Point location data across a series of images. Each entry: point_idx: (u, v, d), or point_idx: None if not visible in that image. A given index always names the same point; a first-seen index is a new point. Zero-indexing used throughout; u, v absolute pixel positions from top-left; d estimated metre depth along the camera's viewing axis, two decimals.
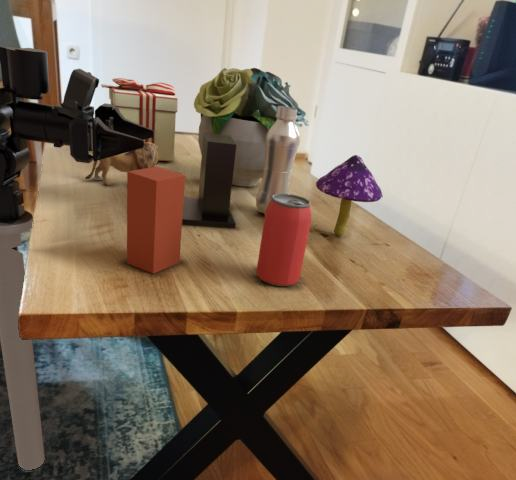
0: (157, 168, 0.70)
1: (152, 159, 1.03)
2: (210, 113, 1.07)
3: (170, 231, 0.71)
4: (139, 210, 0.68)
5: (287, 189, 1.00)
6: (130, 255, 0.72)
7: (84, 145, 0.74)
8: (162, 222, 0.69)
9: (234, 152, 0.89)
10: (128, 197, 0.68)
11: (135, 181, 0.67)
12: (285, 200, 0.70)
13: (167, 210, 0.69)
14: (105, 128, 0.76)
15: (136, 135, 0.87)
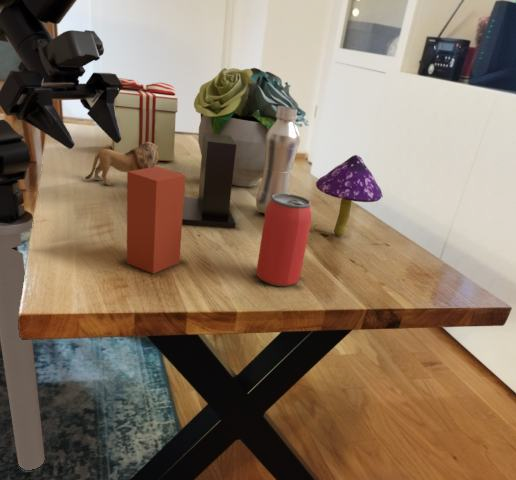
0: (157, 168, 0.70)
1: (152, 159, 1.03)
2: (210, 113, 1.07)
3: (170, 231, 0.71)
4: (139, 210, 0.68)
5: (287, 189, 1.00)
6: (130, 255, 0.72)
7: (9, 100, 0.66)
8: (162, 222, 0.69)
9: (234, 152, 0.89)
10: (128, 197, 0.68)
11: (135, 181, 0.67)
12: (285, 200, 0.70)
13: (167, 210, 0.69)
14: (46, 103, 0.68)
15: (106, 127, 0.78)
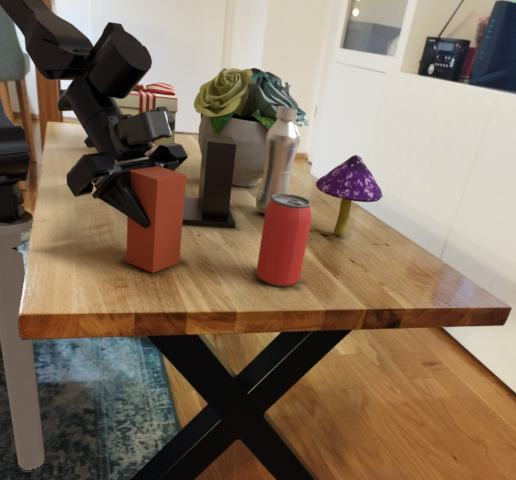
0: (158, 168, 0.70)
1: None
2: (210, 113, 1.07)
3: (170, 231, 0.71)
4: None
5: (287, 189, 1.00)
6: (130, 254, 0.72)
7: (79, 183, 0.63)
8: (162, 221, 0.69)
9: (234, 152, 0.89)
10: None
11: (136, 180, 0.67)
12: (285, 200, 0.70)
13: (167, 209, 0.69)
14: (125, 185, 0.66)
15: None
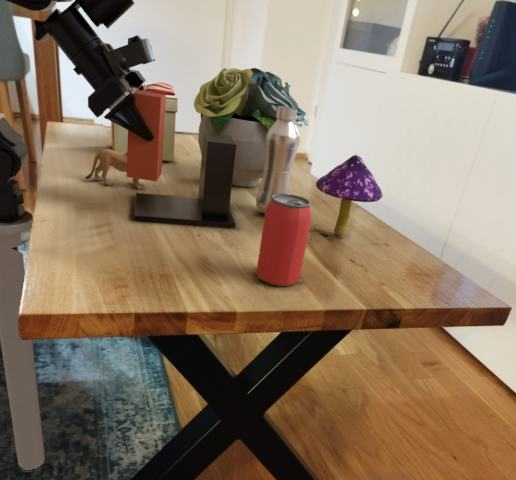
0: (140, 90, 0.83)
1: None
2: (210, 113, 1.07)
3: (161, 144, 0.86)
4: None
5: (287, 189, 1.00)
6: (131, 169, 0.85)
7: (106, 104, 0.74)
8: (160, 135, 0.83)
9: (234, 152, 0.89)
10: None
11: (137, 99, 0.79)
12: (285, 200, 0.70)
13: (161, 124, 0.83)
14: (134, 104, 0.78)
15: None
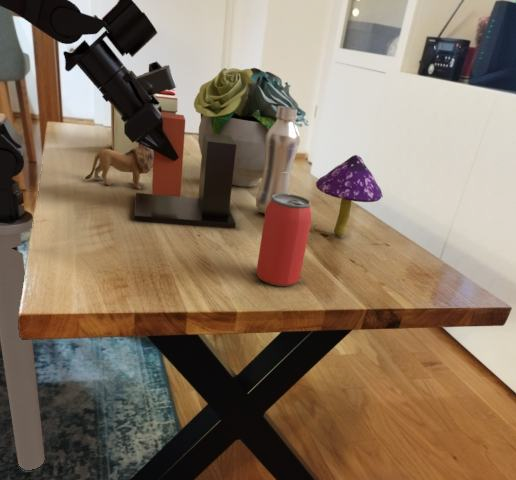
0: (160, 112, 0.89)
1: (152, 159, 1.04)
2: (210, 113, 1.07)
3: None
4: None
5: (287, 189, 1.00)
6: (156, 186, 0.90)
7: (142, 130, 0.79)
8: None
9: (234, 152, 0.89)
10: None
11: (163, 122, 0.85)
12: (285, 200, 0.70)
13: None
14: (162, 127, 0.84)
15: None
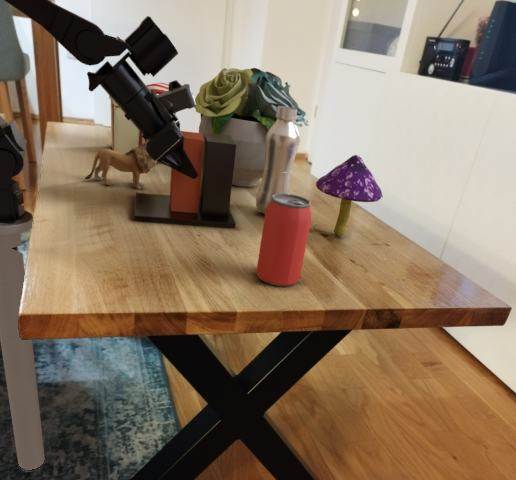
0: None
1: (152, 159, 1.04)
2: (210, 113, 1.07)
3: None
4: None
5: (287, 189, 1.00)
6: (175, 204, 0.92)
7: (164, 148, 0.81)
8: None
9: (234, 152, 0.89)
10: None
11: None
12: (285, 200, 0.70)
13: None
14: None
15: None
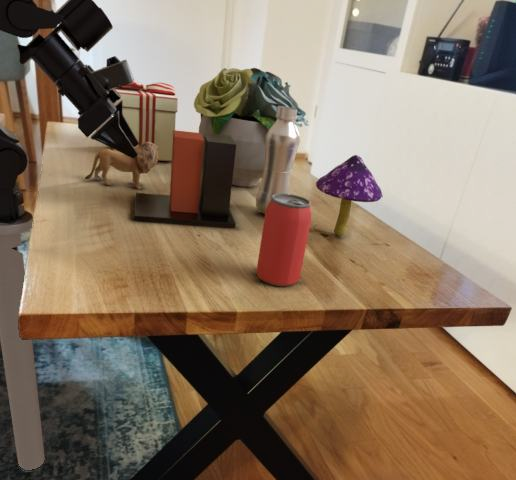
0: (178, 131, 0.91)
1: (152, 159, 1.04)
2: (210, 113, 1.07)
3: None
4: (186, 165, 0.89)
5: (287, 189, 1.00)
6: (175, 204, 0.92)
7: (96, 124, 0.78)
8: None
9: (234, 152, 0.89)
10: (175, 157, 0.88)
11: (182, 143, 0.87)
12: (285, 200, 0.70)
13: None
14: (118, 124, 0.82)
15: None
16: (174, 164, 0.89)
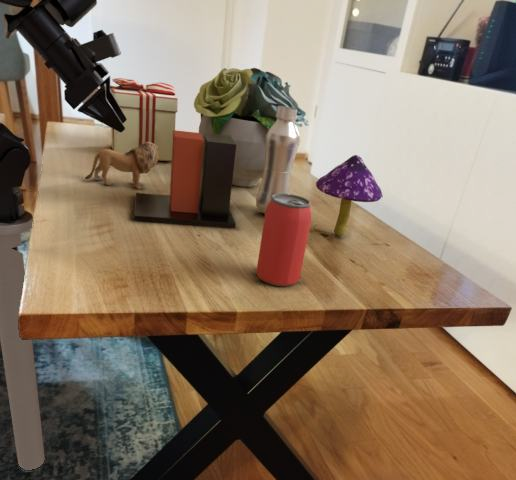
0: (178, 131, 0.91)
1: (152, 159, 1.04)
2: (210, 113, 1.07)
3: None
4: (186, 165, 0.89)
5: (287, 189, 1.00)
6: (175, 204, 0.92)
7: (83, 96, 0.78)
8: None
9: (234, 152, 0.89)
10: (175, 157, 0.88)
11: (182, 143, 0.87)
12: (285, 200, 0.70)
13: None
14: (105, 96, 0.82)
15: None
16: (174, 164, 0.89)
